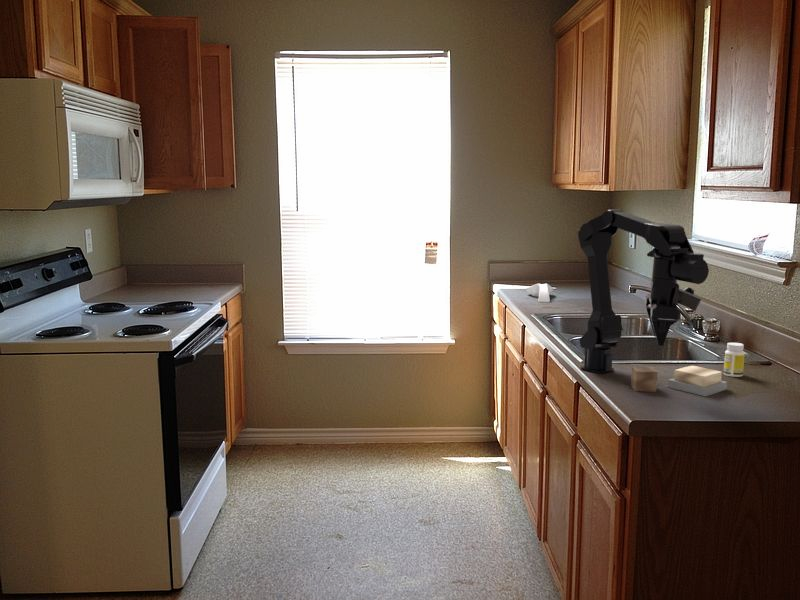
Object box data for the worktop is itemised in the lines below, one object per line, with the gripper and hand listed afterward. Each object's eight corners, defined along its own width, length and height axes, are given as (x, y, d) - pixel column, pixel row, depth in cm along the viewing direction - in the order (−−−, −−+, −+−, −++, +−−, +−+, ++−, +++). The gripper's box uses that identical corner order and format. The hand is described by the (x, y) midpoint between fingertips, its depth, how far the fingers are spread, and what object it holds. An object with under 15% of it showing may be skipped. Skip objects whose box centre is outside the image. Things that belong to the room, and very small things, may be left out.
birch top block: (673, 379, 189) (674, 369, 189) (691, 374, 194) (691, 365, 194) (703, 386, 183) (704, 376, 183) (721, 381, 188) (721, 371, 188)
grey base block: (667, 389, 190) (668, 379, 189) (688, 383, 196) (689, 373, 196) (705, 398, 182) (706, 388, 182) (726, 391, 188) (727, 381, 188)
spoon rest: (524, 293, 340) (525, 278, 339) (551, 294, 339) (551, 278, 338) (530, 302, 317) (531, 285, 315) (559, 303, 316) (559, 286, 315)
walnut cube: (635, 391, 186) (636, 371, 185) (630, 385, 191) (632, 366, 190) (656, 392, 185) (657, 371, 185) (651, 386, 190) (652, 366, 189)
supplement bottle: (744, 374, 203) (747, 343, 202) (741, 378, 199) (743, 346, 198) (725, 371, 206) (727, 341, 204) (721, 375, 202) (724, 344, 200)
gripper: (706, 285, 172) (699, 353, 175) (694, 274, 190) (688, 335, 193) (655, 282, 174) (649, 349, 177) (647, 271, 192) (642, 331, 195)
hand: (658, 341), depth 185 cm, fingers open, 9 cm apart
